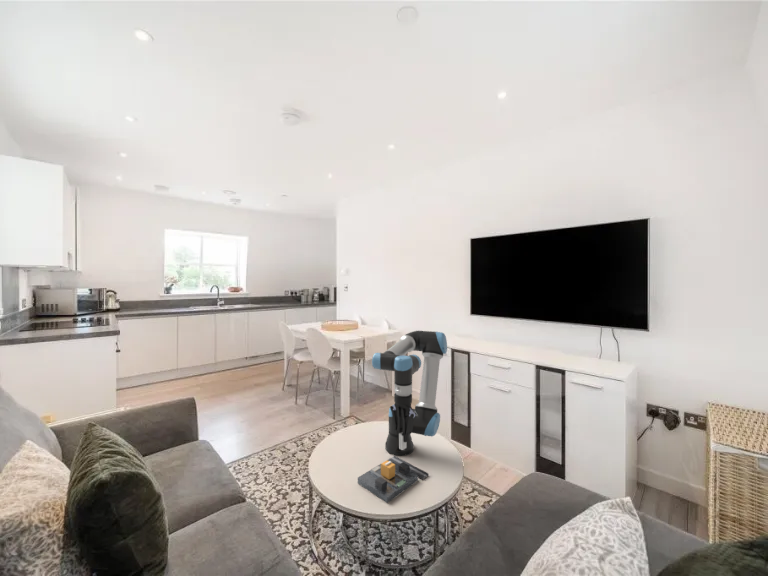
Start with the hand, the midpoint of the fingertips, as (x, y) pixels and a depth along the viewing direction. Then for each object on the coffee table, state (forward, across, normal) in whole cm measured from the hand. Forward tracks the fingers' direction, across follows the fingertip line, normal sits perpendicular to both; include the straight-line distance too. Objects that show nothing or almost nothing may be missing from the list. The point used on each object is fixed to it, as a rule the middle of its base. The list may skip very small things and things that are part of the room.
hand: (402, 448), depth 135 cm
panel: (+18, -8, 0) cm, 20 cm away
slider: (+15, -8, 0) cm, 18 cm away
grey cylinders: (+18, -8, +14) cm, 25 cm away
